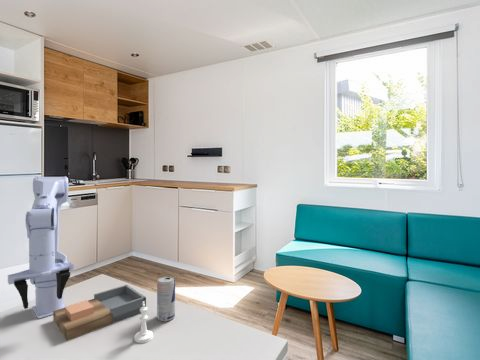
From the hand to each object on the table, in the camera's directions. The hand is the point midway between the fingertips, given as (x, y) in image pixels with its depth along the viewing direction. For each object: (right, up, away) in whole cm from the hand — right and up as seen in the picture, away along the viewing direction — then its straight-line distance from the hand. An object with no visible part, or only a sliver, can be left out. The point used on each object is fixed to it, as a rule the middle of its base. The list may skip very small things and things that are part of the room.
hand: (43, 302), depth 77 cm
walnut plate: (+7, -9, +8) cm, 14 cm away
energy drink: (+31, -10, +11) cm, 34 cm away
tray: (+14, -9, +16) cm, 23 cm away
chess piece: (+27, -10, 0) cm, 29 cm away
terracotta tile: (+6, -6, +7) cm, 11 cm away
